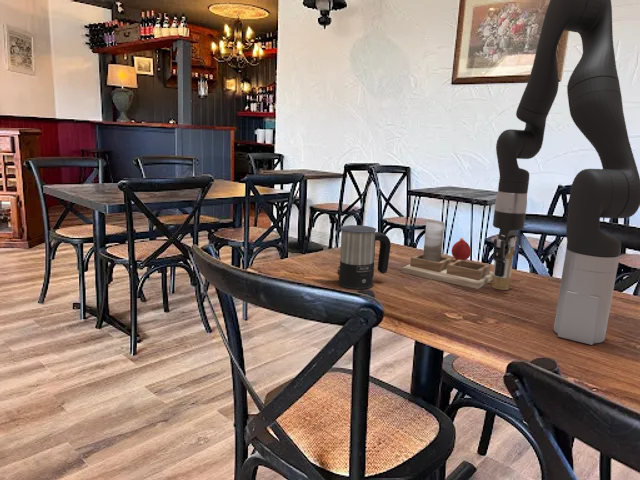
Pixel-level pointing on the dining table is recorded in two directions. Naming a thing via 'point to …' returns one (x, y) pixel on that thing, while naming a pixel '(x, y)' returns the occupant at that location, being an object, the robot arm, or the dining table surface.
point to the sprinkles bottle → (504, 281)
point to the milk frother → (361, 256)
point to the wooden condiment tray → (446, 262)
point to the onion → (461, 250)
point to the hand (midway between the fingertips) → (501, 273)
